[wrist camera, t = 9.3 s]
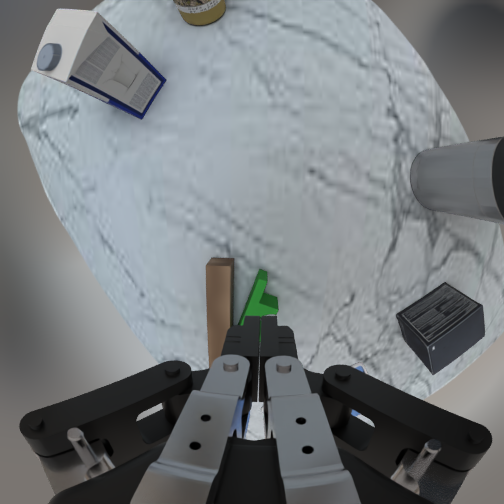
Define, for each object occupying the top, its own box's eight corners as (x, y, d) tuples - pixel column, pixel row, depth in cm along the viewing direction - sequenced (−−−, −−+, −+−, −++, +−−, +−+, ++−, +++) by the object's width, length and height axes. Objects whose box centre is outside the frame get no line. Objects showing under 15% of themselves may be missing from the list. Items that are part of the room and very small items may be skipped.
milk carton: (167, 80, 33) (97, 10, 13) (143, 120, 34) (52, 76, 15) (132, 67, 32) (55, 7, 13) (109, 104, 34) (18, 65, 14)
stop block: (233, 258, 38) (230, 266, 34) (233, 378, 42) (230, 394, 38) (211, 257, 38) (205, 265, 34) (214, 377, 42) (210, 392, 38)
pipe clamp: (257, 343, 41) (255, 360, 36) (233, 335, 41) (229, 352, 36) (285, 277, 38) (287, 289, 34) (259, 268, 38) (258, 279, 34)
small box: (404, 343, 40) (432, 378, 29) (394, 314, 39) (425, 347, 28) (452, 311, 38) (486, 337, 28) (445, 280, 37) (483, 303, 27)
